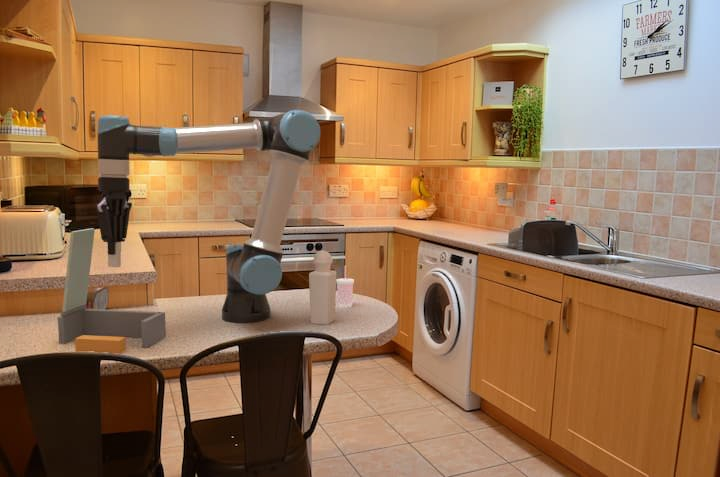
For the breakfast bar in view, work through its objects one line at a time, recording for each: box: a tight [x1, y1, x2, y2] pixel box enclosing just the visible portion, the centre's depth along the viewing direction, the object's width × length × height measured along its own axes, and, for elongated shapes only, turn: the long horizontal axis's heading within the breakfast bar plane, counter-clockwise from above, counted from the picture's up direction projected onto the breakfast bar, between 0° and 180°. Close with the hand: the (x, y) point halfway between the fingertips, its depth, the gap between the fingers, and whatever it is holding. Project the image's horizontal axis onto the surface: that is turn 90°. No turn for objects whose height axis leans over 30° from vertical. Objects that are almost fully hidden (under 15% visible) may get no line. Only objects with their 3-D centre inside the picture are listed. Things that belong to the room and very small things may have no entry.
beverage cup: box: [336, 264, 355, 308], centre depth 200 cm, size 6×6×14 cm
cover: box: [60, 227, 96, 317], centre depth 158 cm, size 23×9×1 cm
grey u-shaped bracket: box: [57, 309, 167, 349], centre depth 159 cm, size 25×10×7 cm, turn 81°
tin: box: [86, 285, 110, 310], centre depth 188 cm, size 15×3×8 cm, turn 5°
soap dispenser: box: [308, 250, 338, 326], centre depth 178 cm, size 6×6×22 cm
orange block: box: [74, 335, 127, 355], centre depth 150 cm, size 12×3×4 cm, turn 82°
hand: (114, 266), depth 155 cm, fingers closed
